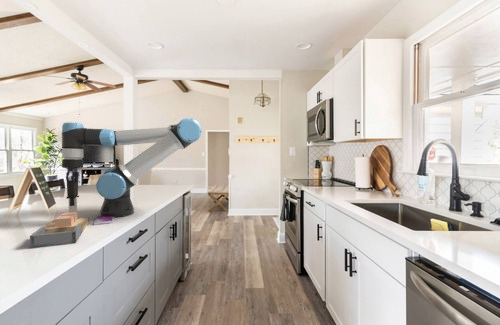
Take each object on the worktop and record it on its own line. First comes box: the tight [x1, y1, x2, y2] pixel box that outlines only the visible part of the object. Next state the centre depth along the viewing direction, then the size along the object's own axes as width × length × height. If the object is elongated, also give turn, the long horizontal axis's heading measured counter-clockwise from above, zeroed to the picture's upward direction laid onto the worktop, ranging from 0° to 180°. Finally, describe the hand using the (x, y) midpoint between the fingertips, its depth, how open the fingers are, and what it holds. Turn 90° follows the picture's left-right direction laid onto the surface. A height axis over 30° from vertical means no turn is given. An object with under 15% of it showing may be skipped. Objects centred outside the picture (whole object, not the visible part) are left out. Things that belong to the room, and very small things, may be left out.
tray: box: [29, 223, 83, 249], centre depth 86 cm, size 12×11×4 cm
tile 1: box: [54, 215, 74, 227], centre depth 94 cm, size 5×5×3 cm
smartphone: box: [92, 216, 114, 226], centre depth 113 cm, size 7×1×15 cm
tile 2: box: [59, 211, 78, 222], centre depth 100 cm, size 5×5×3 cm
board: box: [44, 216, 89, 234], centre depth 97 cm, size 12×14×3 cm
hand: (72, 212), depth 107 cm, fingers closed
